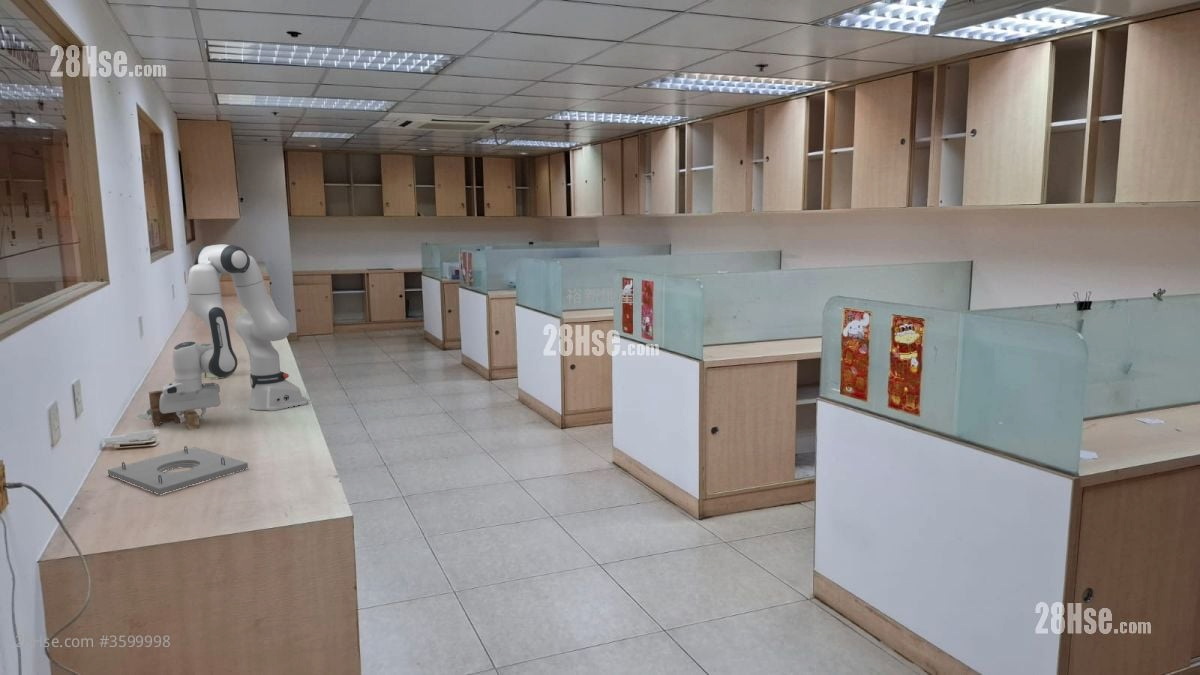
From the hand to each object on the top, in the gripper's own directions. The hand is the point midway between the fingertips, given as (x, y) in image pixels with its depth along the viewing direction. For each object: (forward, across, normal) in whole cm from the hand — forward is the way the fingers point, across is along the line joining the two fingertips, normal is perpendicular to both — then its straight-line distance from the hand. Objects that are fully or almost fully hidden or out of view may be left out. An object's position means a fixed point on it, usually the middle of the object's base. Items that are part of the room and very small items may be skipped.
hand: (191, 421), depth 282 cm
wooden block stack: (+2, +8, -10) cm, 13 cm away
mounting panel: (+2, +11, +56) cm, 57 cm away
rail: (+2, 0, 0) cm, 2 cm away
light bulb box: (+2, -25, -125) cm, 127 cm away
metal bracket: (+2, +7, -23) cm, 25 cm away
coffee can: (+2, -22, -88) cm, 91 cm away
